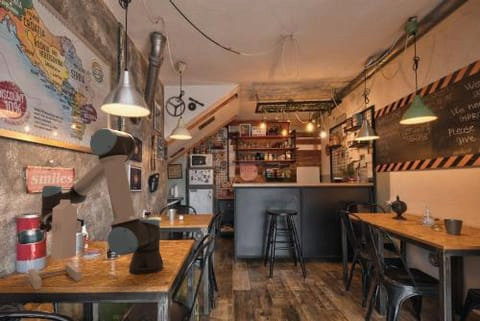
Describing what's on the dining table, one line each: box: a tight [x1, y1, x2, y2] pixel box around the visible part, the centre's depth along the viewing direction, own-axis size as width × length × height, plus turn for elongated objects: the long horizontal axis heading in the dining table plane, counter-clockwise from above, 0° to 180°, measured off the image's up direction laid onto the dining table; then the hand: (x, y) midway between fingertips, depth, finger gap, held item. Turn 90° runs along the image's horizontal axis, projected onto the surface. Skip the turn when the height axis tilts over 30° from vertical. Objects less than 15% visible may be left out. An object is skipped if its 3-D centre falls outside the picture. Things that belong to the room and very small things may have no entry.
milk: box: [50, 200, 78, 261], centre depth 114 cm, size 6×6×22 cm
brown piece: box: [27, 261, 82, 291], centre depth 125 cm, size 20×16×4 cm
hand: (67, 226), depth 110 cm, fingers closed on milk, 8 cm apart
